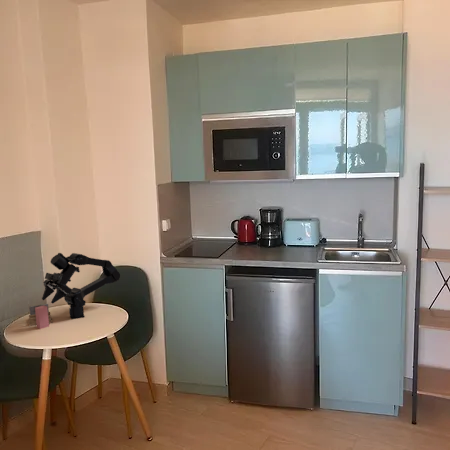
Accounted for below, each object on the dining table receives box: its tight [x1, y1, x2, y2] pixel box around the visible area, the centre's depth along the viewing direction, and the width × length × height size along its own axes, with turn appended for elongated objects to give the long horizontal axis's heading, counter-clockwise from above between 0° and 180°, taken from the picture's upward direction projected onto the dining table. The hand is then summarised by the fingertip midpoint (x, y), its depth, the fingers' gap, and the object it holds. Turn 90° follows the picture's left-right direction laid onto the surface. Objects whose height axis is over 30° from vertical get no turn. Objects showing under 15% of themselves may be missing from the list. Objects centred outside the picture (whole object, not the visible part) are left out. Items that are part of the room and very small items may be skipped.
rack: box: [28, 303, 53, 327], centre depth 237 cm, size 10×12×7 cm
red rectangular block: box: [35, 304, 50, 330], centre depth 228 cm, size 4×4×10 cm
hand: (47, 301), depth 229 cm, fingers open, 9 cm apart
